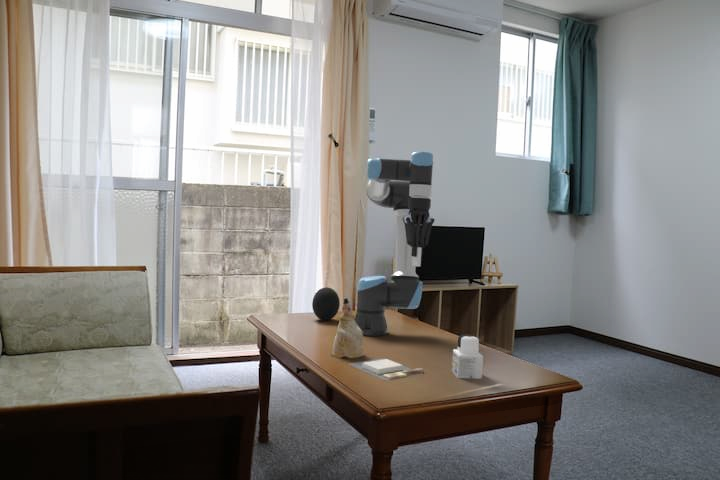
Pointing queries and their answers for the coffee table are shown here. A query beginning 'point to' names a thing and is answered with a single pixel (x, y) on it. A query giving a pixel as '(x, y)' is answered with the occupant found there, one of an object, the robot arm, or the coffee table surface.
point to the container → (467, 358)
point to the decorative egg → (325, 303)
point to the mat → (359, 366)
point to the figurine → (348, 335)
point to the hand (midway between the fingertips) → (416, 266)
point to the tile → (382, 366)
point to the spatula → (403, 373)
